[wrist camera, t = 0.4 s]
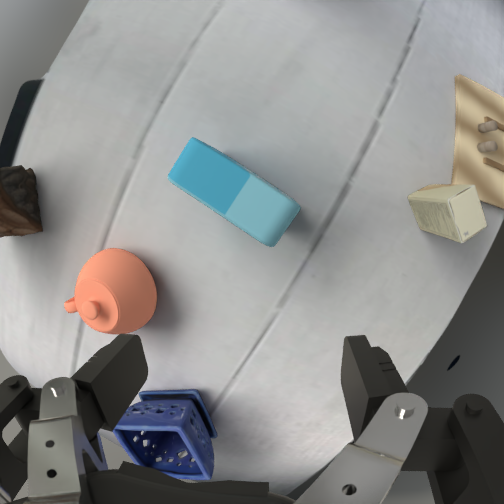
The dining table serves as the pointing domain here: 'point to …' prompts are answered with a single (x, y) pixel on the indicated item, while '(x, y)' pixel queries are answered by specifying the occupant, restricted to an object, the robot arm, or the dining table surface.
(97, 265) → the sugar bowl
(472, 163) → the tray
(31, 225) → the owl
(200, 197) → the data package
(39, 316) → the dining table surface
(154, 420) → the flower pot
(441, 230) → the box
